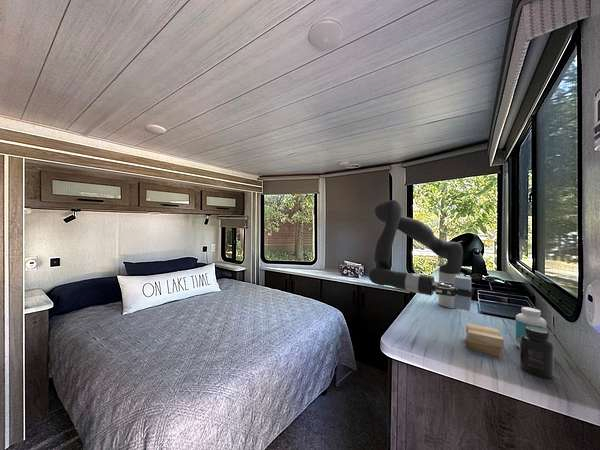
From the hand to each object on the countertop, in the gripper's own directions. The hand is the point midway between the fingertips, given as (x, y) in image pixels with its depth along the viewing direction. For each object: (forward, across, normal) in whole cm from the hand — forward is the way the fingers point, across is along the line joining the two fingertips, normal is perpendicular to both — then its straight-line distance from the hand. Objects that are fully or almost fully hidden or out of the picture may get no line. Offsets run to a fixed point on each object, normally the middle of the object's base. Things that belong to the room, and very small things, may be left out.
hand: (472, 292), depth 82 cm
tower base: (+3, 0, +18) cm, 19 cm away
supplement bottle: (+16, -7, +18) cm, 25 cm away
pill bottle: (+16, +9, +18) cm, 26 cm away
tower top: (+4, 0, +15) cm, 16 cm away
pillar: (-3, 0, +6) cm, 7 cm away
